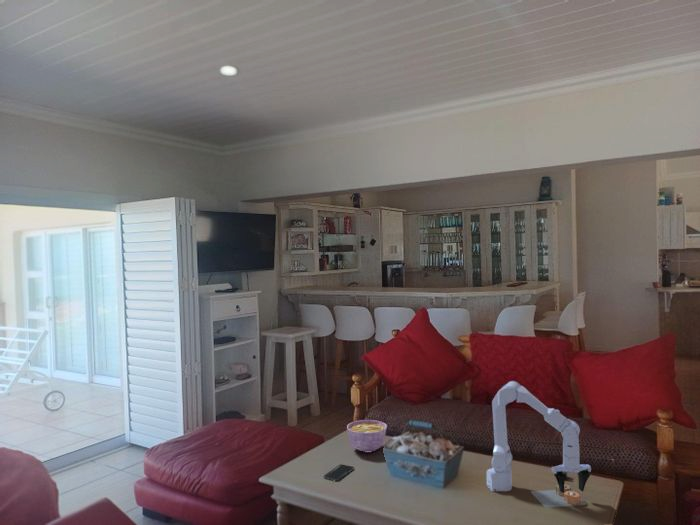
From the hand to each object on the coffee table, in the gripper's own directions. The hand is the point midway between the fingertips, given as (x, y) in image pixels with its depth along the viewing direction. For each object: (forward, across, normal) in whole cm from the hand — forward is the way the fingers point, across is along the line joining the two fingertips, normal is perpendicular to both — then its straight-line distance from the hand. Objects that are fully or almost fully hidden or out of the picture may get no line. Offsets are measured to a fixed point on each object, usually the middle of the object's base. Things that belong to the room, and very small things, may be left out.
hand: (571, 490), depth 195 cm
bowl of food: (+6, -69, +68) cm, 97 cm away
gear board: (+6, -4, +3) cm, 7 cm away
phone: (+7, -85, +42) cm, 95 cm away
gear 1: (+4, 0, +6) cm, 7 cm away
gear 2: (+4, 0, 0) cm, 4 cm away
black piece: (+6, +7, +19) cm, 22 cm away
